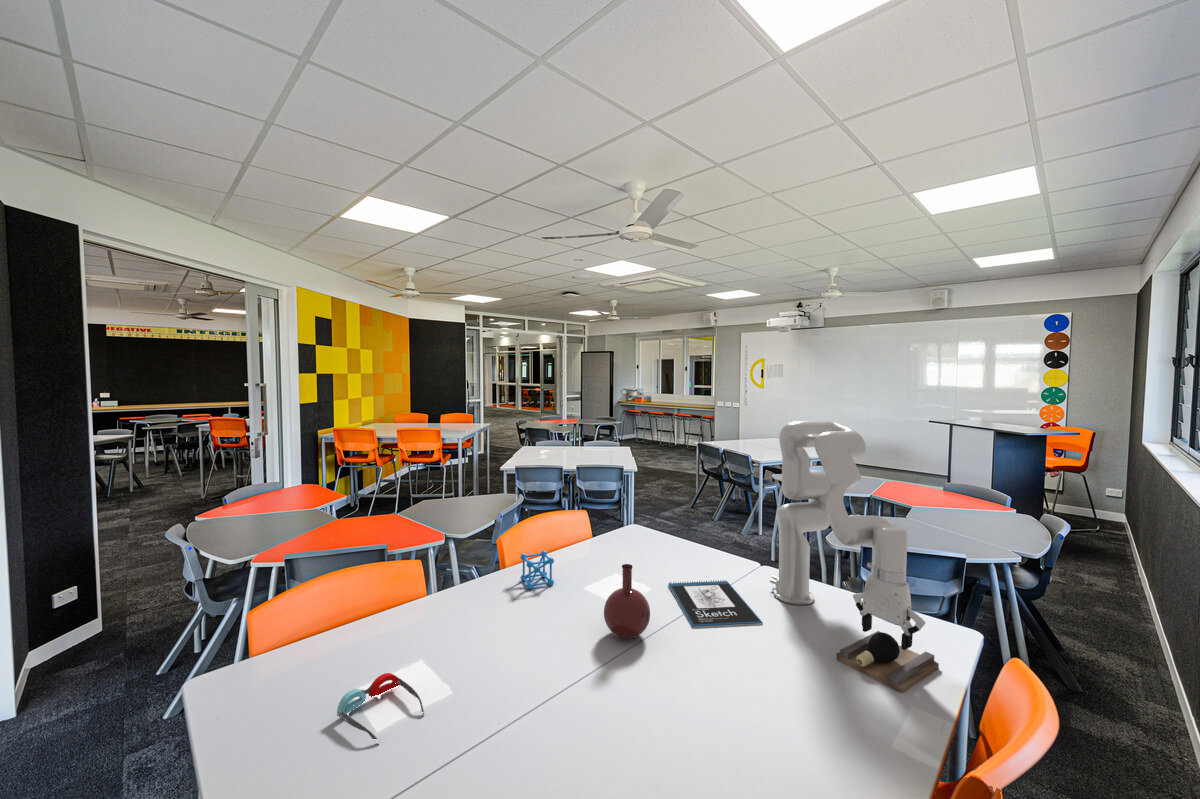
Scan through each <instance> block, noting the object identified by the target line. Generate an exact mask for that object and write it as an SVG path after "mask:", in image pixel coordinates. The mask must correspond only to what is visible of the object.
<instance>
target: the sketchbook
mask: <svg viewBox="0 0 1200 799" xmlns="http://www.w3.org/2000/svg"><path fill="white" fill-rule="evenodd" d="M667 585H669V586H668V588H669V587H670V588H669V590H670V589H671V590H670V591H672V592H671V593H672V595H673V594H674V595H673V597H674V596H675V597H674V598H676V599H675V600H676V602H677V603H679V604H678V605H680V606H679V607H680V608H681V610H683V611H682V612H683V614H684V616H685V618H686V620H687V621H688V624H689V625H690V627H691V628H692V629H697V628H698V629H699V628H701V627H703V628H718V627H720V626H722V627H721V628H723V627H739V626H759V625H762V624H763V625H764V622H763V621H762V619H760V617H759V616H758V615H757V614H756V613H755V612H754V610H753V609H752V608H751V607H750V606H749V605H748V603H747V602H746V601H745V600H744V599H743V598H742V596H740V594H739V593H738V592H737V591H736V589H734V587H733V586H732V585H731V584H730V582H729V581H728V580H726V579H722V580H721V579H720V580H719V579H715V580H714V579H713V580H711V579H710V580H706V581H705V580H695V581H694V580H692V581H690V580H689V581H688V580H687V581H678V582H674V581H673V582H672V581H670V582H669V583H668V584H667Z"/></svg>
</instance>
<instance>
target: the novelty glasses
mask: <svg viewBox="0 0 1200 799" xmlns="http://www.w3.org/2000/svg"><path fill="white" fill-rule="evenodd" d="M389 681H391V682H389ZM385 682H388V683H386V684H384V683H385ZM395 683H396V684H395ZM398 685H399V686H400V687H402V688H403V689H405V690H406V691H407V692H408V693H409V694H411V696H413V697H414V698H416V699H417V700H418V702H419V704H420V710H421V713H422V712H424V713H423V714H424V715H425V711H424V706H423V703H422V699H421V697H420V696H419V694H418V693H417V691H416V690H415V689H414V688H413V687H412V686H411V685H410V684H408V683H407V682H406V681H404V680H403V679H401V678H399V677H398V676H397V675H395V674H393V673H390V672H385V673H383V674H380V675H379V676H378V677H376V678H375V679H374V680H373V682H372V683H371V685H370V686H369V687H368V688H367V689H365V690H364V689H360V688H352V689H351V690H349V691H348V692H346V693H345V694H344V695H343V696H342V697H341V699H340V701H339V703H338V705H337V709H336V710H337V711H336V716H337V717H338V716H339V717H341V718H340V719H342V720H343V721H344V722H346V724H349V725H350V726H351V727H352V728H356V729H358V730H360V731H363V732H366V733H367V734H368V735H369V737H371V739H372V740H373V739H378V737H376V736H375V735H374V734H373V733H372V732H371V731H370V730H369V729H368V728H367V727H365V726H364V725H362V724H361V723H359V721H357V720H355V719H354V718H353V717H351V716H350V715H349V716H348V715H347V713H348V712H350V711H352V710H353V709H355V708H356V707H358V706H359V705H361V704H362V703H363V702H364V701H365V699H366V700H367V696H366V695H368V696H369V697H370V696H371V697H372V696H375V695H379V694H381V693H383V692H385V691H387V690H389V689H391V688H394V687H396V686H398ZM358 697H359V698H358ZM371 697H370V698H371ZM355 698H357V699H355ZM365 702H366V701H365ZM353 705H354V706H353ZM358 708H359V707H358ZM355 710H356V709H355ZM353 711H354V710H353ZM353 711H352V712H353ZM423 714H422V715H423ZM339 717H338V718H339Z"/></svg>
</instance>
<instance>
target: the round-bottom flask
mask: <svg viewBox="0 0 1200 799" xmlns="http://www.w3.org/2000/svg"><path fill="white" fill-rule="evenodd" d="M633 568H634V567H633V565H632V564H631V563H630V564H628V563H624V564H622V565H621V569H622V587H620V588H618V589H616V590H614V591H613V592H612V593H610V595H609V596H608V597H607V599H606V600H605V604H604V607H603V618H604V622H605V624H606V626H607V629H609V631H610V632H611V633H613V635H615V636H617V637H619V638H621V639H627V640H628V639H633V638H637V637H638V636H640V635H642V634H643V633H644V631H645V630H646V629H647V628H648V625H649V623H650V619H651V609H650V604H649V602H648V600H647V598H646V597H645V596H644V595H643V593H642V592H640V591H639V590H637V589H635V588H633V587H632V585H633V584H632V582H633V581H632V579H633V578H632V577H633V576H632V575H633V574H632V573H633Z"/></svg>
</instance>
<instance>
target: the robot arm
mask: <svg viewBox="0 0 1200 799" xmlns="http://www.w3.org/2000/svg"><path fill="white" fill-rule="evenodd" d="M778 437H779V440H778V442H779V447H780V452H781V460H782V461H781V490H782V493H783V496H784V497H785V498H787V499H789V500H793V501H795V500H797V501H799V500H809V501H808V502H791V503H785V504H782V505H781V506H779V507H778V508H777V510H776V522H777V528H778V539H779V540H778V541H779V543H778V549H779V550H778V576H777V575H771V579H770V580H769V582H770V583H771V584H773V585H775V587H774V589H773V596H774V597H775V598H776V599H778V600H779V601H781V602H785V603H787V604H790V605H798V606H800V605H801V606H802V605H809V604H812V603H813V602H814V601H815V595H814V594H813V593H812V592H811V591H810V566H811V565H810V559H811V554H810V553H811V549H810V548H811V547H810V543H809V541H808V540H807V538H806V536H805V535H804V533H807V532H819V531H825V530H827V529H828V528H829V527H831V531H832V532H833V533H834V534H833V535H834V536H835V538H836V539H837V540H838V541H839V542H840V544H842V545H844V546H847V547H854V546H855V547H857V546H858V547H859V546H869V545H870V546H872V547H871V548H872V550H871V562H869V561H868V562H867V564H866V567H867V568H868V569H870V573H868V574H867V576H866V579H865V582H864V583H865V584H864V587H863V588H864V589H863V592H859V593H854V594H853V595H852V598H853V600H854V602H855V606H856V608H857V609H858V610H859V611H858V612H859V614H860V616H861V626H862V632H863V633H866V632H869V631H871V630H872V628H873V627H872V626H873V617H876V618H878V619H881V620H882V621H886V623H887V622H888V623H890V624H892V625H895V626H899V628H901V631H903V633H902V634H901V644H900V646H901V648H902V649H903V650H906V649H908V650H909V649H910V648H911V647H912V646H913V635H914V634H915V633H917V632H919V631H921V629H922V628H923V627H924V626H925V625H926V621H925V620H924V619H923V618H922V617H921V616H919V614H918V613H916V612H915V611H914V610H913V609H912V598H911V590H910V586H909V582H907V562H908V561H907V556H908V554H907V553H908V537H909V536H908V535H909V534H908V532H907V530H906V529H905V528H904V527H902V526H900V525H897V524H893V523H891V522H890V521H888V520H886V519H885V518H883V517H882V516H879V515H857V516H849V513H848V512H847V509H846V507H845V502H844V497H845V493H846V491H848V490H850V489H852V488H854V487H856V486H857V485H858V484H859V483H860V482H861V481H862V475H861V472H860V471H859V468H858V466H857V465H856V461H855V460H856V459H860V458H862V457H864V455H865V453H866V449H867V447H866V442H865V440H864V438H863V437H862V435H861V434H860V433H859V432H857V431H855V430H853V429H851V428H849V427H847V426H844V425H843V424H840V423H838V422H835V421H831V420H800V421H799V420H798V421H792V422H791V421H790V422H788V423H786V424H785V425H783V426H782V428H781V429H780V432H779V435H778ZM806 448H814V449H815V452H816V455H817V456H818V459H819V461H820V464H821V466H822V469H823V470H819V469H811V468H810V466H811V465H810V464H811V463H810V462H811V460H810V459H811V458H810V456H809V454H808V452H807V450H806ZM854 459H855V460H854ZM911 620H913V621H914V623H915V624H914V626H913V624H912V623H911V622H910V621H911Z"/></svg>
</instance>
